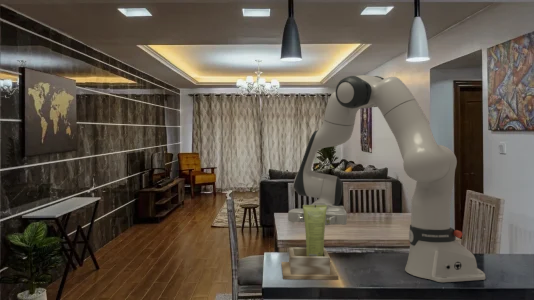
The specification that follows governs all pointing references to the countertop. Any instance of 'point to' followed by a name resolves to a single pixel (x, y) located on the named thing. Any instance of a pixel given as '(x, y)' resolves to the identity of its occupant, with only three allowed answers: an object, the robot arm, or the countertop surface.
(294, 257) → the socket stand
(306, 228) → the tube
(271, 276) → the countertop surface
